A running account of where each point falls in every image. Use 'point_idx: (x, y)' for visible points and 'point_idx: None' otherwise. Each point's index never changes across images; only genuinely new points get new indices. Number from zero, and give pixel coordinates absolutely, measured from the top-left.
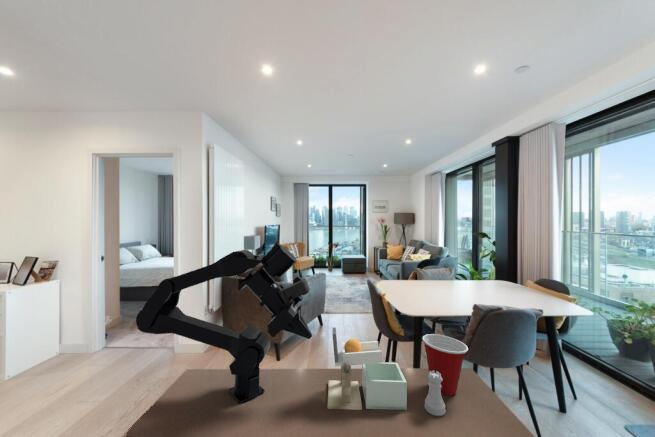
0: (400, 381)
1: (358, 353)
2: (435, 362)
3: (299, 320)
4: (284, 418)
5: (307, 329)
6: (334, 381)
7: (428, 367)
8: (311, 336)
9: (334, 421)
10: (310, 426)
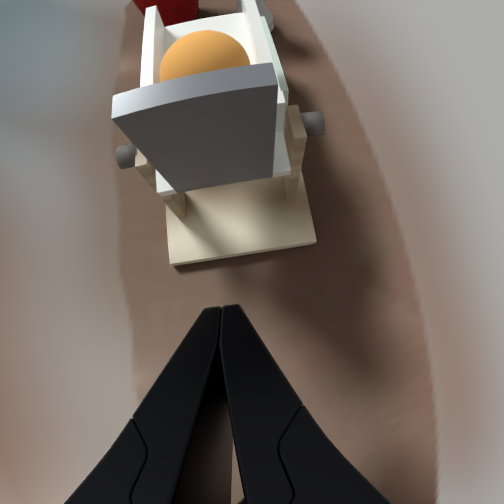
0: (263, 24)
1: (268, 47)
2: None
3: (389, 501)
4: (384, 361)
5: (254, 355)
6: (174, 241)
7: (158, 2)
8: (238, 308)
9: (361, 216)
10: (397, 277)
